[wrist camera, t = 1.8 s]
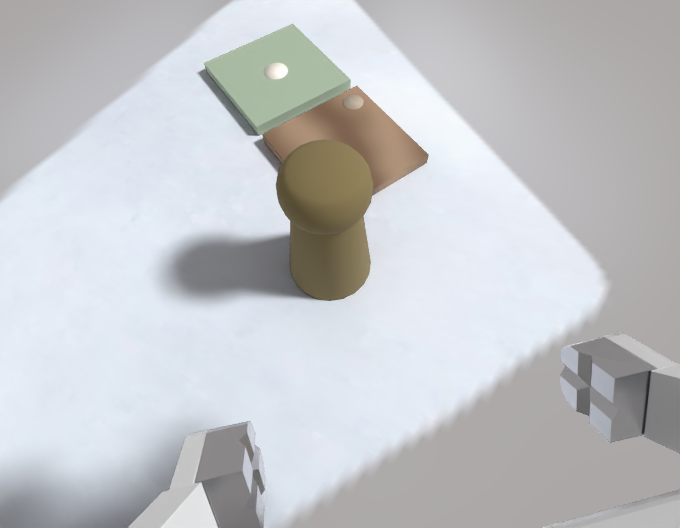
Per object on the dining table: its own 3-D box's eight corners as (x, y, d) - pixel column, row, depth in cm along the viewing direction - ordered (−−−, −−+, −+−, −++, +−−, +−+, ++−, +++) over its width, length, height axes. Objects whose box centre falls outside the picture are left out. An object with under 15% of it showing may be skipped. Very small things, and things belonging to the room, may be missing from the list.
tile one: (258, 135, 36) (256, 126, 35) (207, 72, 39) (203, 62, 38) (350, 88, 38) (350, 79, 37) (293, 33, 42) (292, 23, 41)
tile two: (329, 221, 32) (328, 214, 31) (264, 142, 35) (262, 133, 34) (426, 162, 34) (428, 154, 33) (356, 94, 38) (356, 85, 37)
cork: (339, 316, 28) (337, 239, 18) (273, 271, 30) (237, 177, 20) (386, 254, 30) (406, 154, 20) (321, 215, 32) (311, 105, 22)
